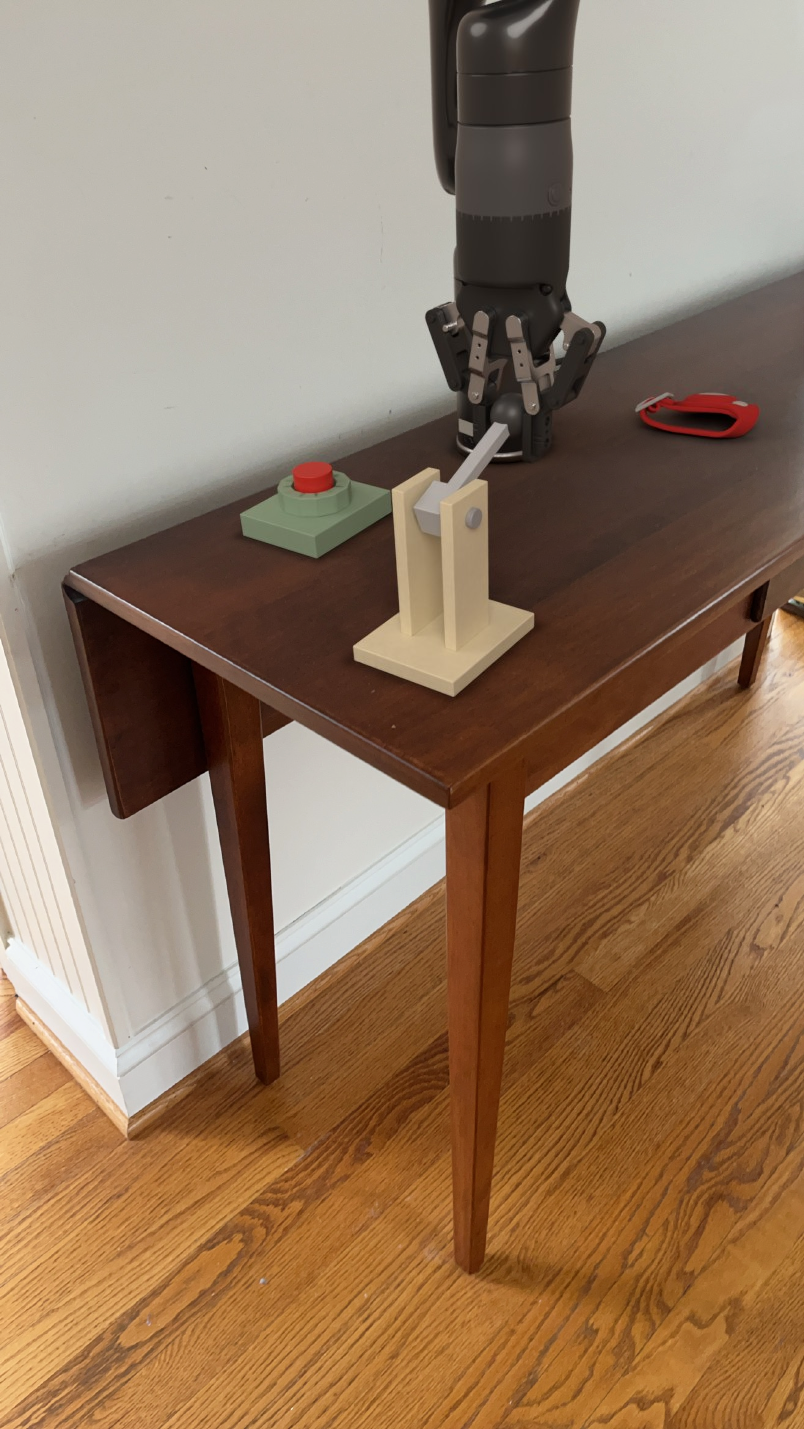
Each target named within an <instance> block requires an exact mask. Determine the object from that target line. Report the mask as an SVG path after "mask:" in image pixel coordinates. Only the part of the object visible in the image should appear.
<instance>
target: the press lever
mask: <svg viewBox="0 0 804 1429" xmlns="http://www.w3.org/2000/svg"><path fill="white" fill-rule="evenodd" d="M525 412H526V410H525V407H524V400H523V395H521V394H519V393H507V394H504V395H502V396H500V397H499V398H498V399H497V400H496V401H495V402H494V404H493V405H492V408H491V411H490V421H491V424H492V426H491V427H490V429H489V430H488V431H487V433H486V434H485V435H484V437H483V438H482V439H481V440H480V442H479V443H478V444H477V446H476V447H475V448H474V450H473V451H472V452H471V453H470V455H469V456H468V457H466V459H465V460H463V462H462V464H461V466H459V468H458V469H457V470H456V472H455V473H454V474H453V475H452V477H451V478H450V479H449V481H448V482H443V481H440V482H439V481H435V480H434V481H433V482H432V484H431V485H430V486H429V488H428V489H427V490H426V491H425V493H424V494H423V495H422V497H421V498H420V499H419V500H418V502H417V503H416V504H415V506H414V507H413V509H414V511H415V514H416V517H417V520H418V523H419V525H420V528H421V531H422V532H424V533H428V534H431V535H435V536H439V537H441V520H440V502H441V501H442V500H444V499H445V498H447V497H448V496H450V495H451V494H453V493H454V492H456V491H458V490H459V489H461V488H462V487H464V486H465V485H467V484H468V483H470V482H471V481H473V480H475V479H479V476H480V475H481V474H482V473H483V471H484V470H485V469H486V467H487V466H488V464H489V463H491V462H490V460H491V459H492V458H493V456H494V455H495V454H496V452H497V451H498V450H499V448H500V447H501V446H502V444H503V443H504V442H505V440H506V439H507V438H517V437H520V436H522V434H523V414H524V413H525Z"/></svg>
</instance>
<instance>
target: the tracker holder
mask: <svg viewBox="0 0 804 1429" xmlns="http://www.w3.org/2000/svg"><path fill="white" fill-rule="evenodd" d="M674 397H675V395H674V393H671V392H668V391H667V392H664V393H662V394H660V395H658V396H655V397H654V396H652V397H651V396H650V397H648V398H647V399H644V400H642V401H641V402H640V403H638V404H637V405H636V407H635V408H634V412H635V413H636V414H639V416H640V419H641V420H642V422H644V423H645V424H647V425H648V426H650V427H654V428H657V429H659V430H663V431H667V432H671V433H677V434H685V435H693V436H702V437H708V438H721V439H723V438H725V439H727V438H728V439H729V438H730V439H731V438H739V437H742V436H744V435H746V434H747V433H748V432H749V431H751V429H752V428H753V427H754V426H755V425H756V423H757V421H758V419H759V416H760V407H759V406H758V405H757V404H755V403H754V404H753V403H747V402H746V401H742V400H740V399H738V398H737V397H735V396H733V395H730V394H726V393H722V392H721V393H720V392H701V393H692V394H689V395H688V396H686V397H685V398H684V399H683V400H675V399H674ZM661 408H665V409H667V410H671V411H675V412H680V413H681V412H682V413H688V412H691V413H711V414H712V413H714V414H715V413H716V414H724V415H727V416H729V417H731V418H733V419H736V421H735V422H734V423H733V424H732V426H730V428H728V429H726V430H723V431H721V430H713V429H712V430H711V429H703V428H695V427H694V428H693V427H688V426H681V425H680V426H679V425H672V424H666V423H662V422H659V421H657V420H654V419H652V418H651V417H650V416H649V415H648V413H650V414H656V413H657V412H658V411H660V410H661Z"/></svg>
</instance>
